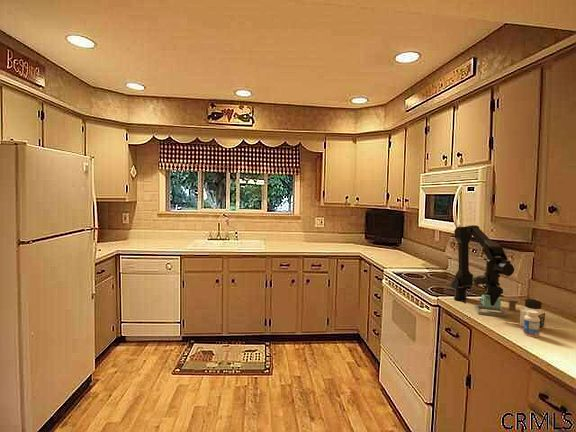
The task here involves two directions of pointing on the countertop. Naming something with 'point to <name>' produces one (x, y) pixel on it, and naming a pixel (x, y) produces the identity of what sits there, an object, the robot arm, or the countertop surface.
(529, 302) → the labeled white jar
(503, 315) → the tray
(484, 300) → the ring
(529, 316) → the pill bottle
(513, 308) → the brown peg stand
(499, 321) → the countertop surface
